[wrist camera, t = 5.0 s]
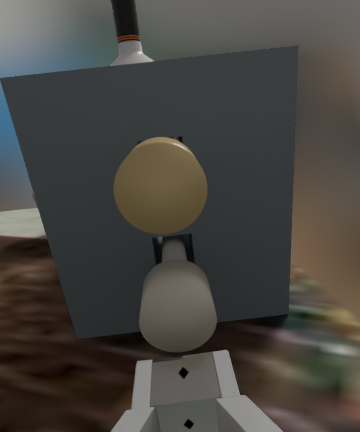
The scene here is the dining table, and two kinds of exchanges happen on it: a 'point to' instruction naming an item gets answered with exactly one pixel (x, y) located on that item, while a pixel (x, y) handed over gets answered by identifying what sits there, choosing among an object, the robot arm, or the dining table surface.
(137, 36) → the vodka
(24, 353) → the dining table surface
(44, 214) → the console
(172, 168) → the knob upper
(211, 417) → the robot arm
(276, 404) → the dining table surface
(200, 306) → the knob lower
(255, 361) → the dining table surface
